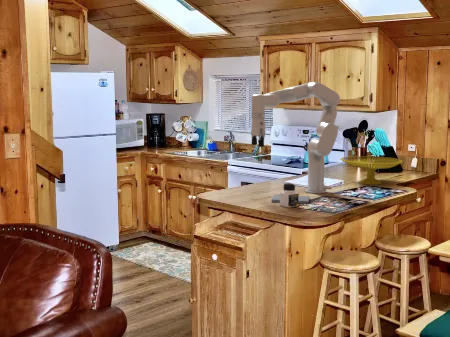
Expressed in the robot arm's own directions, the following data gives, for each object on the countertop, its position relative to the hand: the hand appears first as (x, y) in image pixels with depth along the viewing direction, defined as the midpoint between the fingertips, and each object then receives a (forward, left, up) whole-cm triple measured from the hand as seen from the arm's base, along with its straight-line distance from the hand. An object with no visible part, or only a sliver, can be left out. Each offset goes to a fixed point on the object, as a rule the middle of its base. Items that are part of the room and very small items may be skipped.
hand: (257, 145), depth 343 cm
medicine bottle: (-20, +28, -29) cm, 45 cm away
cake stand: (-68, -57, -29) cm, 94 cm away
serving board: (-20, +14, -29) cm, 38 cm away
